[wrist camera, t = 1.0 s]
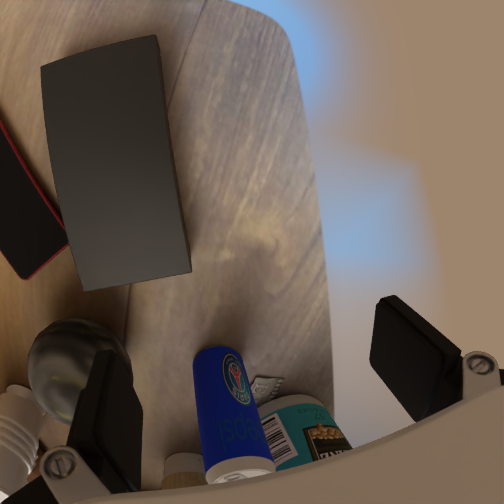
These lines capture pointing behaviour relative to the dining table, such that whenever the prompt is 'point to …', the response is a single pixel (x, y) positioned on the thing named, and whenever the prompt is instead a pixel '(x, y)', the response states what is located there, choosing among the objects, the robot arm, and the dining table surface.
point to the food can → (300, 431)
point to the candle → (18, 437)
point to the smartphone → (25, 215)
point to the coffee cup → (183, 471)
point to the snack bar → (265, 390)
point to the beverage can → (228, 418)
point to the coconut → (36, 466)
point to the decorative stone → (68, 363)
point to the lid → (115, 164)
